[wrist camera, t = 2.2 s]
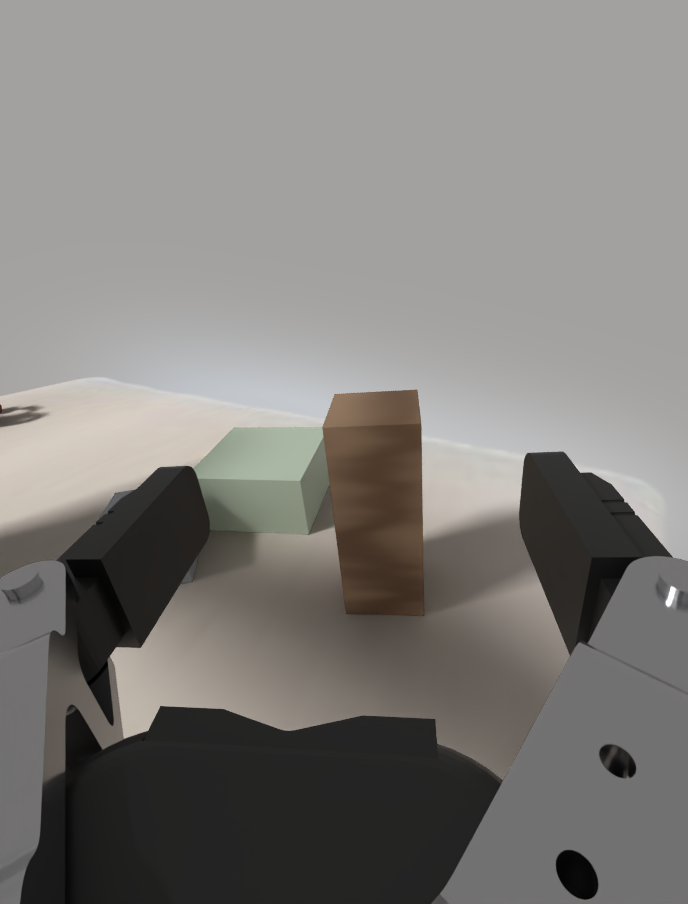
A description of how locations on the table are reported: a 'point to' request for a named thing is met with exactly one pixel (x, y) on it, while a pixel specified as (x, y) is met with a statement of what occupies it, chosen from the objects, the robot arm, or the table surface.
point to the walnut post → (377, 499)
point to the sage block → (265, 480)
